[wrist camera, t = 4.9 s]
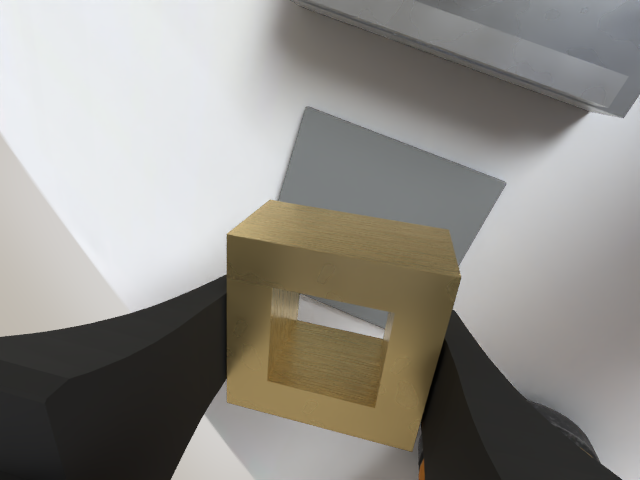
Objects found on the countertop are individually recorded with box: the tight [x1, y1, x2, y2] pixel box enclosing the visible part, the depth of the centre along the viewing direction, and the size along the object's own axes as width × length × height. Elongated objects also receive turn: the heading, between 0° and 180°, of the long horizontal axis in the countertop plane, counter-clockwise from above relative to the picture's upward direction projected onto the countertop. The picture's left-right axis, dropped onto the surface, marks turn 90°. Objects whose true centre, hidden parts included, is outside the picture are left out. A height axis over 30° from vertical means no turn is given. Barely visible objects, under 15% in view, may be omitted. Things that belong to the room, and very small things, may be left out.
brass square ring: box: [227, 200, 461, 452], centre depth 11 cm, size 5×5×3 cm
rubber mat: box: [278, 107, 506, 329], centre depth 18 cm, size 9×9×1 cm
